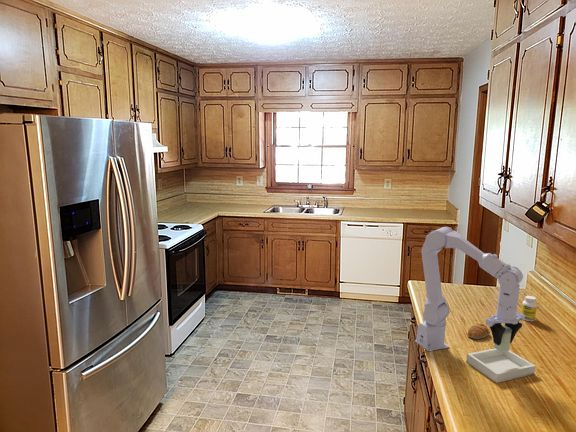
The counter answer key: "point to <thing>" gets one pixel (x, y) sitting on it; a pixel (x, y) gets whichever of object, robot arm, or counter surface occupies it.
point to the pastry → (478, 331)
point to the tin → (505, 340)
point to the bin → (500, 364)
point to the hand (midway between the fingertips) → (502, 342)
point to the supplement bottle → (529, 308)
